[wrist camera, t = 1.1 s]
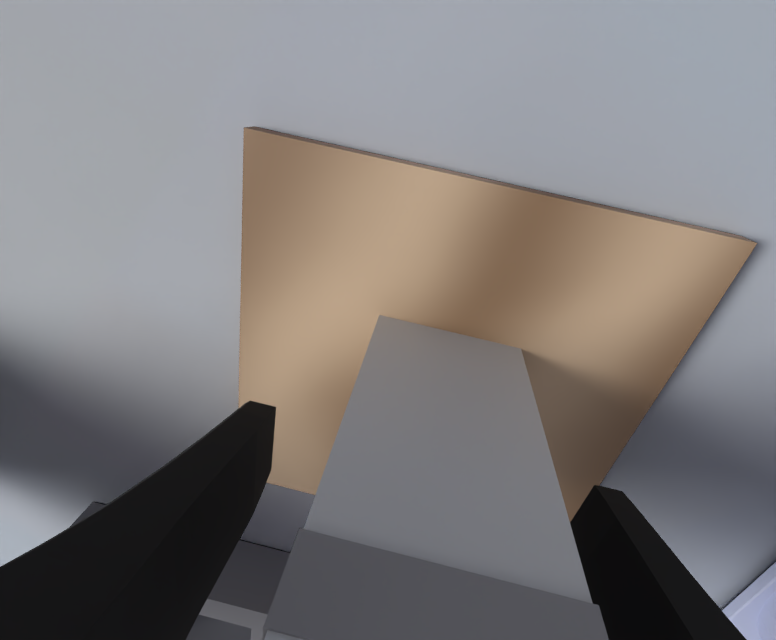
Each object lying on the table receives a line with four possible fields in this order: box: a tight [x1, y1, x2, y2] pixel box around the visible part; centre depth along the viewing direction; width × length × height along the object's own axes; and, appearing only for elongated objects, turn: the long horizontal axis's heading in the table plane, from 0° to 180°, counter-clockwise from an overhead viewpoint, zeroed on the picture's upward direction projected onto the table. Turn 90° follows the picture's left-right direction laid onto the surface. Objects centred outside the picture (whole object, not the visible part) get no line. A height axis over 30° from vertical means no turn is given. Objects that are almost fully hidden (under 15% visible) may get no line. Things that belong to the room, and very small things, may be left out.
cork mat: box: [239, 127, 757, 522], centre depth 13 cm, size 12×12×1 cm
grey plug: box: [262, 315, 609, 640], centre depth 9 cm, size 4×4×8 cm
